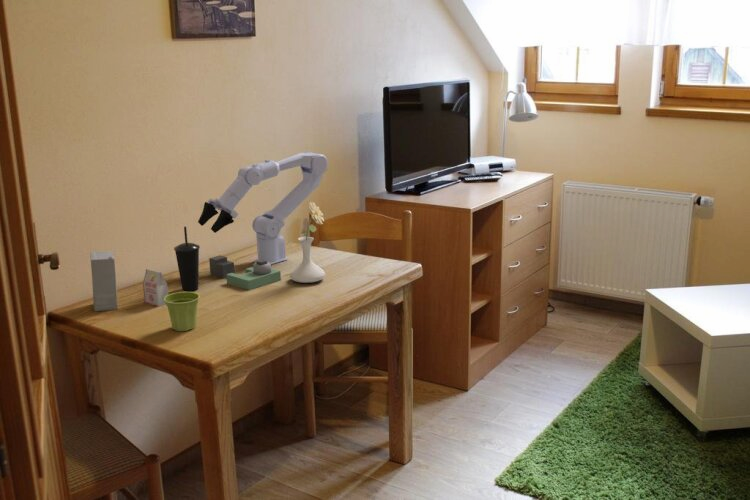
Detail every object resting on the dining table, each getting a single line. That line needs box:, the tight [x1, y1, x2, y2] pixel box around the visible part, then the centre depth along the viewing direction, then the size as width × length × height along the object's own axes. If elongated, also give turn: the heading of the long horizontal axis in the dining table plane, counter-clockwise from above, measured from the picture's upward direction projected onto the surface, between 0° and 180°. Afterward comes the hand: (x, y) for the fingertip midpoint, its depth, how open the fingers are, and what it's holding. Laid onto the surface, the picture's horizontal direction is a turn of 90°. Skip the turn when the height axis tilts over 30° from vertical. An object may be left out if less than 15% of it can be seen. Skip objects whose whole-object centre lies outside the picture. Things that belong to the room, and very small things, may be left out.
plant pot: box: [164, 291, 201, 332], centre depth 207 cm, size 9×9×9 cm
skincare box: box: [90, 250, 118, 312], centre depth 225 cm, size 8×7×16 cm
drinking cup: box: [173, 226, 201, 292], centre depth 238 cm, size 8×8×20 cm
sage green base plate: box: [226, 260, 282, 291], centre depth 246 cm, size 13×11×7 cm
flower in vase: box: [289, 201, 326, 284], centre depth 245 cm, size 13×11×25 cm
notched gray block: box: [208, 254, 235, 279], centre depth 255 cm, size 4×7×6 cm, turn 48°
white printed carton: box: [142, 268, 169, 308], centre depth 227 cm, size 4×7×10 cm, turn 52°
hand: (206, 227), depth 253 cm, fingers open, 7 cm apart
